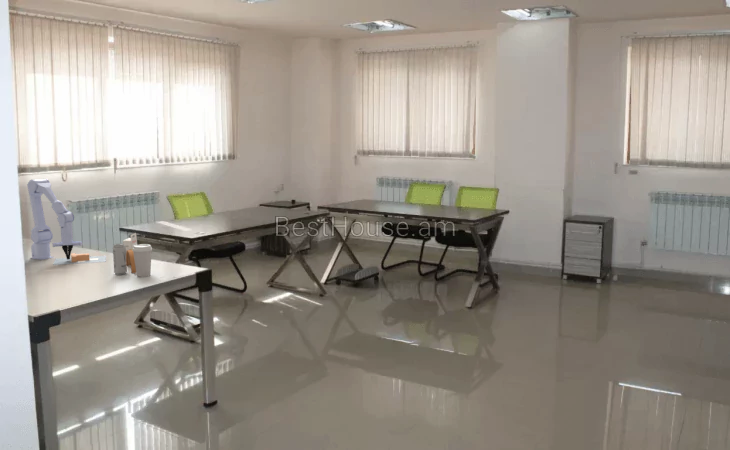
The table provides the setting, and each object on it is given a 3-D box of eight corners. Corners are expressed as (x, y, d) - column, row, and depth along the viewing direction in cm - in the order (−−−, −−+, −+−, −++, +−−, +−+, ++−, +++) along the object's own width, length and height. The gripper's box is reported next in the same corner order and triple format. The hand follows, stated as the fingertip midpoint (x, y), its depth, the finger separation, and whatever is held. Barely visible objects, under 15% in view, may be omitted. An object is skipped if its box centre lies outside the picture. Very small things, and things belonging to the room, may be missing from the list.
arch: (131, 273, 332) (130, 253, 331) (125, 265, 350) (125, 247, 348) (143, 272, 335) (142, 252, 333) (137, 264, 352) (136, 246, 351)
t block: (71, 262, 354) (71, 256, 354) (71, 258, 363) (71, 253, 363) (89, 261, 358) (89, 255, 357) (89, 257, 367) (88, 252, 366)
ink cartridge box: (129, 258, 368) (128, 232, 366) (138, 258, 368) (136, 232, 366) (123, 261, 359) (122, 234, 357) (132, 261, 359) (131, 235, 357)
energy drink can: (125, 275, 327) (123, 245, 325) (112, 275, 327) (111, 245, 325) (128, 272, 333) (127, 243, 331) (116, 272, 333) (114, 243, 331)
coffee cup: (157, 274, 330) (156, 244, 327) (145, 278, 321) (144, 248, 318) (141, 272, 333) (140, 243, 331) (129, 276, 324) (127, 246, 322)
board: (52, 265, 347) (52, 265, 347) (55, 259, 364) (55, 258, 364) (105, 262, 356) (105, 261, 356) (106, 256, 373) (106, 255, 373)
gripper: (51, 236, 350) (53, 261, 352) (81, 234, 355) (82, 259, 357) (52, 234, 356) (54, 258, 358) (81, 232, 361) (83, 257, 363)
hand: (68, 259), depth 358 cm, fingers closed
